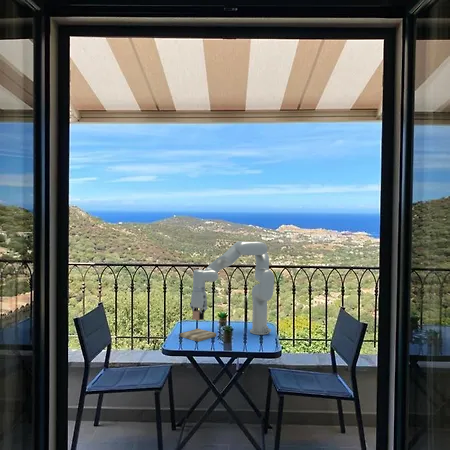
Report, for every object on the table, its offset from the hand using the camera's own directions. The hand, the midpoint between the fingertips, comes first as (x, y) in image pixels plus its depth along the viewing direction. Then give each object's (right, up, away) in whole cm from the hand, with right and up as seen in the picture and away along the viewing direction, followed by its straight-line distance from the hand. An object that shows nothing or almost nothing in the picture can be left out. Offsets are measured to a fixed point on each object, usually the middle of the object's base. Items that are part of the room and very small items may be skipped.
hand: (198, 318), depth 247 cm
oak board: (0, -11, 0) cm, 11 cm away
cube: (0, -1, 0) cm, 1 cm away
